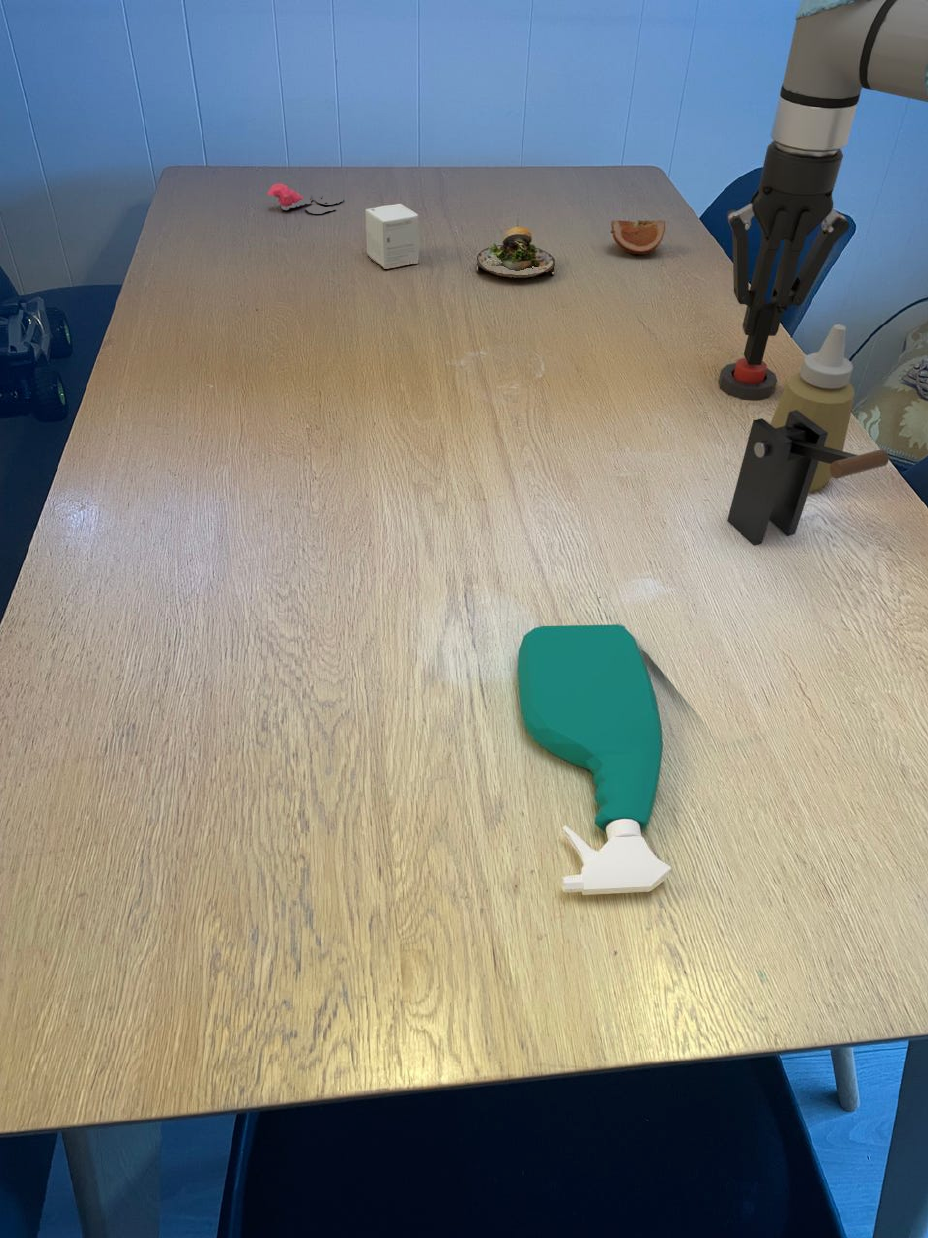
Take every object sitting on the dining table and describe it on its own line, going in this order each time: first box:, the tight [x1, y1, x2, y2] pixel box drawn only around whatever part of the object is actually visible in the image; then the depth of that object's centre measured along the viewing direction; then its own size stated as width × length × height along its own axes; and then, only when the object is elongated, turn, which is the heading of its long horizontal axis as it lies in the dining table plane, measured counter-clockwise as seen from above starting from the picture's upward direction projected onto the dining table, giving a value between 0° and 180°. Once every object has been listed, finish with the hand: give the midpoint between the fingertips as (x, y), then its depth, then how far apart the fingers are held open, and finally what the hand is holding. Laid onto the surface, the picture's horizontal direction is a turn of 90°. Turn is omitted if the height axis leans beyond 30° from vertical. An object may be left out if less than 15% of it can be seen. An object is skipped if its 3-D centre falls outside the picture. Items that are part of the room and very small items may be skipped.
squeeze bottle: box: [769, 323, 856, 493], centre depth 94 cm, size 8×8×18 cm
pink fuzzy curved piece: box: [266, 182, 304, 207], centre depth 159 cm, size 12×11×4 cm
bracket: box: [726, 410, 828, 547], centre depth 89 cm, size 9×7×13 cm
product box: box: [365, 203, 420, 266], centre depth 141 cm, size 6×6×7 cm
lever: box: [776, 426, 889, 479], centre depth 82 cm, size 11×5×2 cm, turn 24°
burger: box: [476, 213, 556, 279], centre depth 139 cm, size 12×12×8 cm
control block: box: [718, 362, 778, 402], centre depth 112 cm, size 10×7×3 cm
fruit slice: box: [610, 219, 666, 256], centre depth 146 cm, size 8×7×5 cm
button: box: [733, 357, 768, 384], centre depth 112 cm, size 4×4×2 cm
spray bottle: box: [517, 624, 672, 896], centre depth 71 cm, size 3×11×24 cm
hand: (752, 359), depth 111 cm, fingers closed
